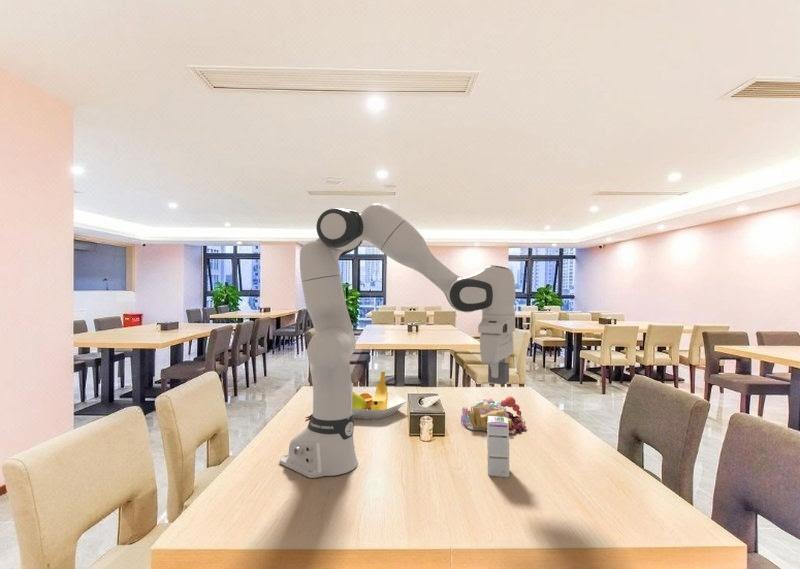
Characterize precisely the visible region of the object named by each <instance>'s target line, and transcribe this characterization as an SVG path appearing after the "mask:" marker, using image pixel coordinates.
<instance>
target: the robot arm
mask: <svg viewBox="0 0 800 569" xmlns="http://www.w3.org/2000/svg"><path fill="white" fill-rule="evenodd" d="M316 232H317V236H318V238H317V239H315V240H314V239H313V240H310V241H308V242H306V243H305V244H304V245H302V246H301V247H300V250H299V271H300V279H301V286H302V291H303V292H302V293H303V296H304V302H305V308H306V312H307V313H308V315H309V317H310V321H311V322H312V326H313V329H314V331H315V334H314V335H313V336H311V339H310V341H309V343H308V344H307V349H306V355H307V359H308V362H309V370H310V375H311V376H310V377H311V382H312V414H310V415H308V416H306V417H305V420H304V422H308V425H307V427H305V428H304V429H303V430H301V431H300V432H299V433H298V434H297V435H296V436H294V437H293V438H292V439H291V440H290V442H289V447H288V452H286V453H285V454H284V455H282V457H281V458H280V460H279V464H280V465H283V466H284V467H286V468H288V469H291V470H293V471H295V472H297V473H298V474H301V475H303V476H305V477H307V478H310V479H315V478H320V477H328V476H329V477H330V476H339V475H343V474H346V473H349V472H351V471H353V470H354V469H355V468H357V467H358V464H359V462H358V459H357V455H356V450H355V444H354V443H355V442H354V427H355V419H354V414H353V413H352V391H353V388H354V387H353V381H352V374H351V362H350V361H351V360H350V359H351V356H352V355H353V354H354V352H355V350H356V346H357V341H356V340H357V339H356V337H355V333H354V328H353V324H352V321H351V318H350V313H349V310H348V307H347V304H346V298H345V292H344V287H343V282H342V276H341V270H340V265H339V264H340V262H339V259H340V257H343V256H345V255H347V254H348V253H351V252H352V251H354V250H356V249H358V248H359V247H360V246H361V244H362V243H363V242H365V241H366V242H369V243H370V244H372V245H373V246H375V247H376V248H377V249H378V250H379V251H380V252H382V253H383V254H384V255H386V256H387V257H389V258H390V259H392V260H394V262H396V263H399V264H401V265H403V266H405V267H407V268H410V269H412V270H414V271H416V272H418V273H420V274H421V275H423V276H424V277H425V278H427V279H428V280H429V281H430V282H432V283H433V284H434V285H435V286H436V287H437V288H438V289H439V290H440V291H442V292H443V294H444V296H445V298H446V300H447V302H448V304H449V305H450V306H451V307H452V308H453V309H455V310H456V311H458V312H462V313H473V312H475V311H476V312H477V311H480V310H481V313H482V314H481V317H482V318H481V321H480V323H478V326H477V332H478V334H480V336H479V349H480V350H479V351H480V359H481V362H482V363H483V364H490V368H491V376H492V377H494V378H497V377H499V368H498V365H499V362H503V363H507V360H508V359H507V358H508V357H509V356H511V355H513V353H514V332H516V311H515V300H516V282H515V276H514V273H513V271H512V270H511V269H510V268H508V267H506V266H505V267H504V266H502V265H492V264H490V265H486V266H485V267H483V268H482V269H480V270H478V271H477V272H474V273H473V274H470V275H467V276H465V277H462V276H460V275H457V274H456V273H454V272H453V271H452V270H451V269H450V268H448V266H446V265H445V264H443V263H442V262H441V261H440V260H439V259H437V257H436V256H435V255H434V254H433V253H432V251H431V250H430V249H429V246H428V245H427V242H426V240H425V239H424V236H422V235H421V233H420V232H419V231H418V229H416V228H415V227H414V226H413V225H412V224H411V223H410V222H409V221H408V220H406V219H405V218H404V217H402V216H401V215H399V214H398V213H397V212H395V211H394V210H392V209H390V208H388V207H386V206H385V205H383V204H380V203H372V204H370V205H368V206H367V207H365V208H364V209H363V210H362V212H361V213H359V212H358V211H357V210H353V209H352V210H351V209H345V208H340V207H338V208H336V207H334V208H333V207H332V208H329V209H326V210H325V211H323V212H322V213H321V214H320V215H319V217H318V218H317V221H316Z"/></svg>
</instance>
